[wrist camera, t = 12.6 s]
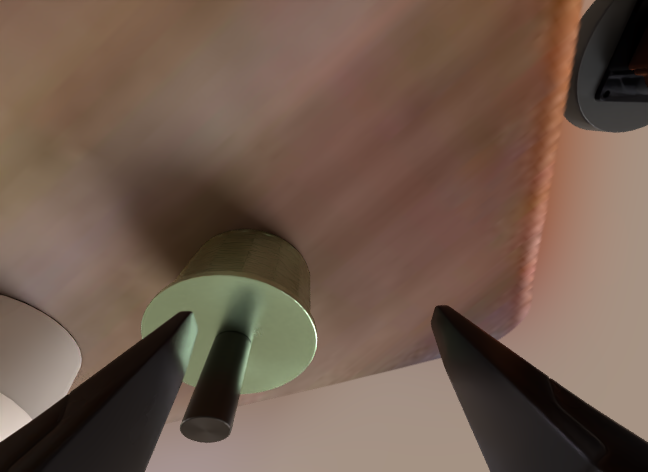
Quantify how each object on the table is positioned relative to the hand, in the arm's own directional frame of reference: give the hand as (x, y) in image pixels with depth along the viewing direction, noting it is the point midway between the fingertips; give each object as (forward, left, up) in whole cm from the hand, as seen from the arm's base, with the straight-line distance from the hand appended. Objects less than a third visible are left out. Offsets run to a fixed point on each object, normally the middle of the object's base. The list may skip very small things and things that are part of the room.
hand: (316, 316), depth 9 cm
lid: (+5, +7, -5) cm, 10 cm away
